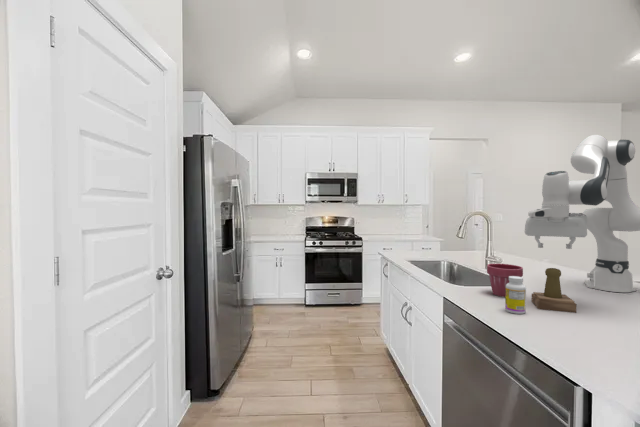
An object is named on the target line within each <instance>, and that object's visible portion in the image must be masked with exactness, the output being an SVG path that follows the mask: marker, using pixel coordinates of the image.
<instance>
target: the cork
mask: <svg viewBox="0 0 640 427" xmlns="http://www.w3.org/2000/svg"><path fill="white" fill-rule="evenodd" d="M544 272H545V276H546V279H545V283H544V292H543V293H544V296H546V297H550V298H562V286H561V280H560V279H561V278H560V277H561V276H562V271H561V270H560V269H559V268H555V267H547V268H546V269H545V271H544Z"/></svg>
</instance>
